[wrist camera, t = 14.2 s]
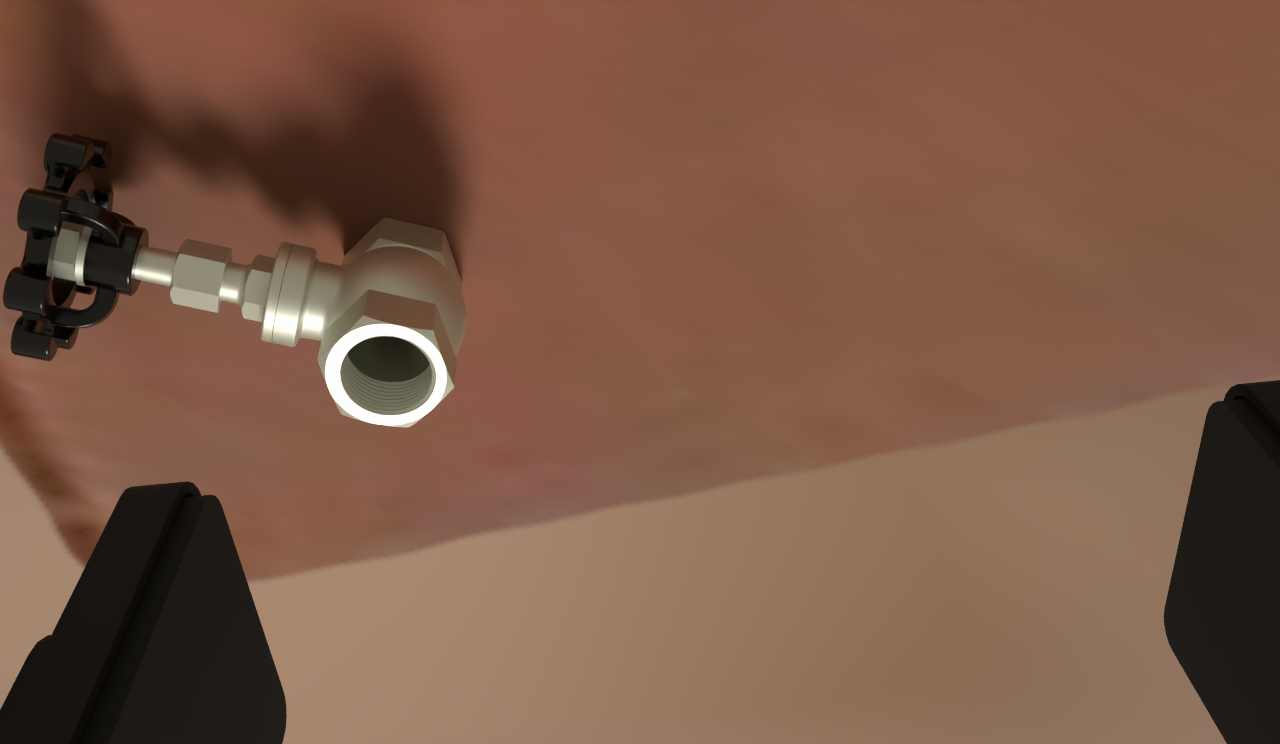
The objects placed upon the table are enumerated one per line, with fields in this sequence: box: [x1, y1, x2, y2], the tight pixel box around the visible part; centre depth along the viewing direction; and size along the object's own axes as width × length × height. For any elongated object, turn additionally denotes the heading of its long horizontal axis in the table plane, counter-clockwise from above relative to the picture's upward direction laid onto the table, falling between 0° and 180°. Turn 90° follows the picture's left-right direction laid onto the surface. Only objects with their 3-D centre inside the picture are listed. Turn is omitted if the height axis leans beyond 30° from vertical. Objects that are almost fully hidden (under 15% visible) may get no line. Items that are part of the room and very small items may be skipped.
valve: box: [3, 133, 466, 427], centre depth 35 cm, size 7×7×12 cm
